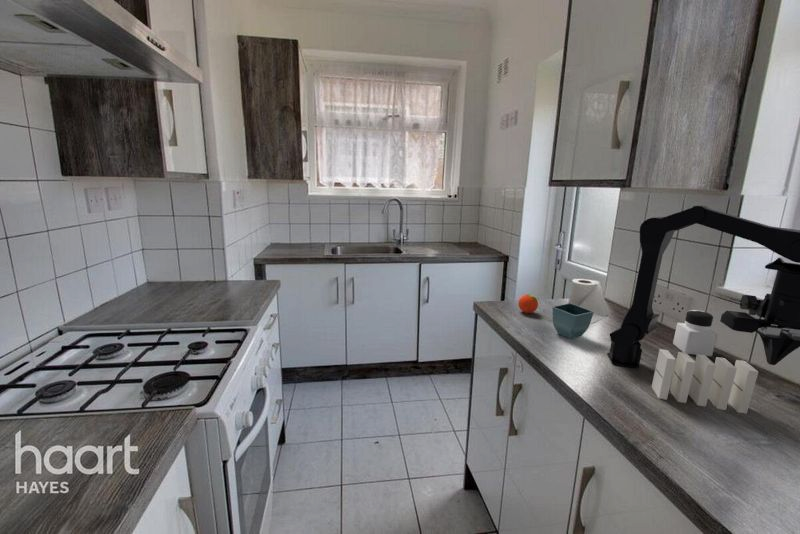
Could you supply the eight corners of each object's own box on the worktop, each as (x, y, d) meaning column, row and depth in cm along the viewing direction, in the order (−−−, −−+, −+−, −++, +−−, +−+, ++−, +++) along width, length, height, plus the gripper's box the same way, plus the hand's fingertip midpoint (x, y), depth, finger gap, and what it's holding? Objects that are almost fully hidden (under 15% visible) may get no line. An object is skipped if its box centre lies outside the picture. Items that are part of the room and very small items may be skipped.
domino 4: (716, 408, 81) (727, 367, 79) (706, 396, 86) (716, 356, 83) (725, 410, 80) (737, 368, 78) (714, 397, 85) (724, 358, 83)
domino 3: (697, 405, 82) (707, 364, 80) (687, 393, 87) (696, 354, 84) (705, 406, 81) (716, 365, 79) (695, 394, 86) (705, 355, 84)
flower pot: (571, 343, 112) (575, 315, 110) (548, 332, 120) (551, 306, 118) (590, 338, 116) (594, 311, 114) (566, 328, 124) (570, 302, 122)
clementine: (542, 313, 137) (544, 294, 136) (536, 318, 132) (538, 299, 130) (521, 308, 142) (523, 290, 140) (514, 312, 137) (516, 294, 135)
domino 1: (658, 398, 84) (667, 358, 82) (651, 387, 89) (659, 348, 86) (666, 399, 84) (675, 359, 81) (659, 388, 88) (667, 350, 86)
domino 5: (737, 412, 80) (748, 370, 78) (725, 399, 84) (736, 359, 82) (746, 413, 79) (758, 371, 77) (734, 401, 84) (744, 361, 82)
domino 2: (677, 401, 83) (686, 361, 81) (669, 390, 88) (677, 351, 85) (686, 403, 83) (695, 362, 80) (677, 391, 87) (686, 352, 85)
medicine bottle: (712, 357, 106) (722, 317, 103) (684, 354, 107) (693, 315, 104) (698, 346, 113) (707, 309, 110) (672, 343, 114) (680, 307, 111)
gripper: (820, 288, 79) (799, 355, 83) (716, 279, 85) (701, 341, 88) (865, 304, 69) (839, 379, 73) (743, 292, 74) (725, 362, 78)
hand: (770, 364), depth 78 cm, fingers closed
